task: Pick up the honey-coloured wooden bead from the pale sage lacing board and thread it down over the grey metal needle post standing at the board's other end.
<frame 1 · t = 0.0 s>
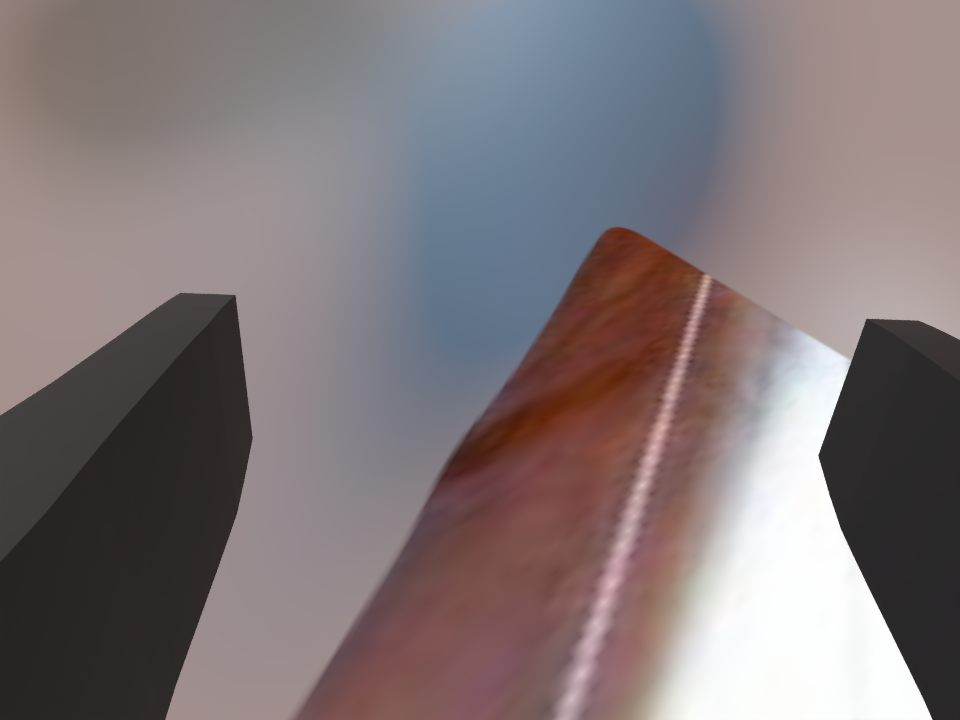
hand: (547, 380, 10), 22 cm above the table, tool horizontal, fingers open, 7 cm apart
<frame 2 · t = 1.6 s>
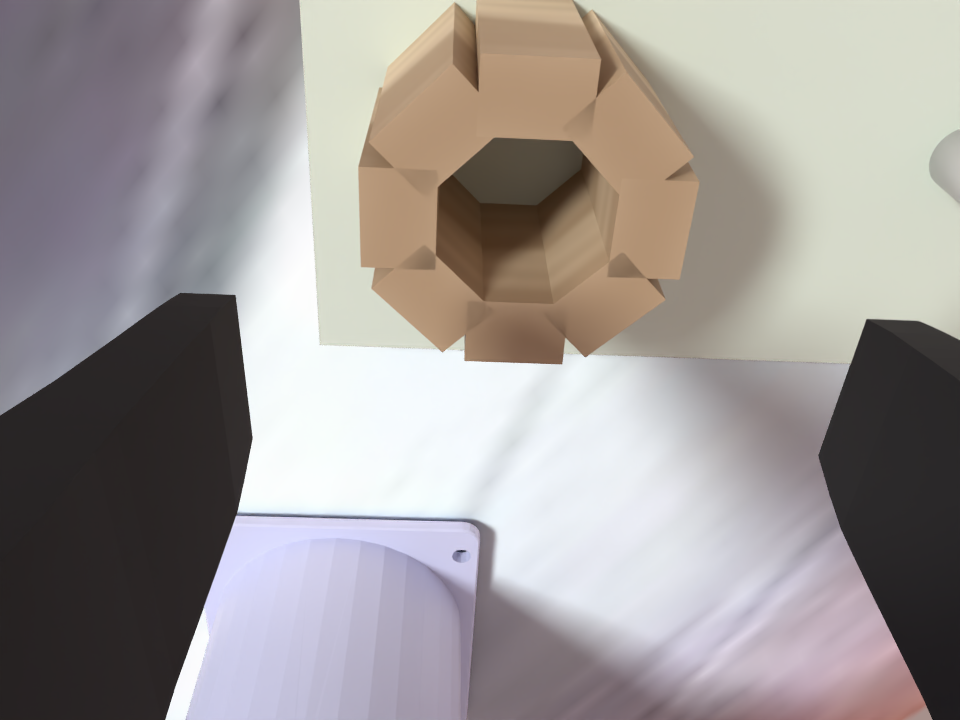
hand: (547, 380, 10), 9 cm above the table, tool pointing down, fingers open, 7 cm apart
bead: (513, 137, 17), point 1 cm above the table, touching lacing board
lacing board: (725, 127, 18), on the table
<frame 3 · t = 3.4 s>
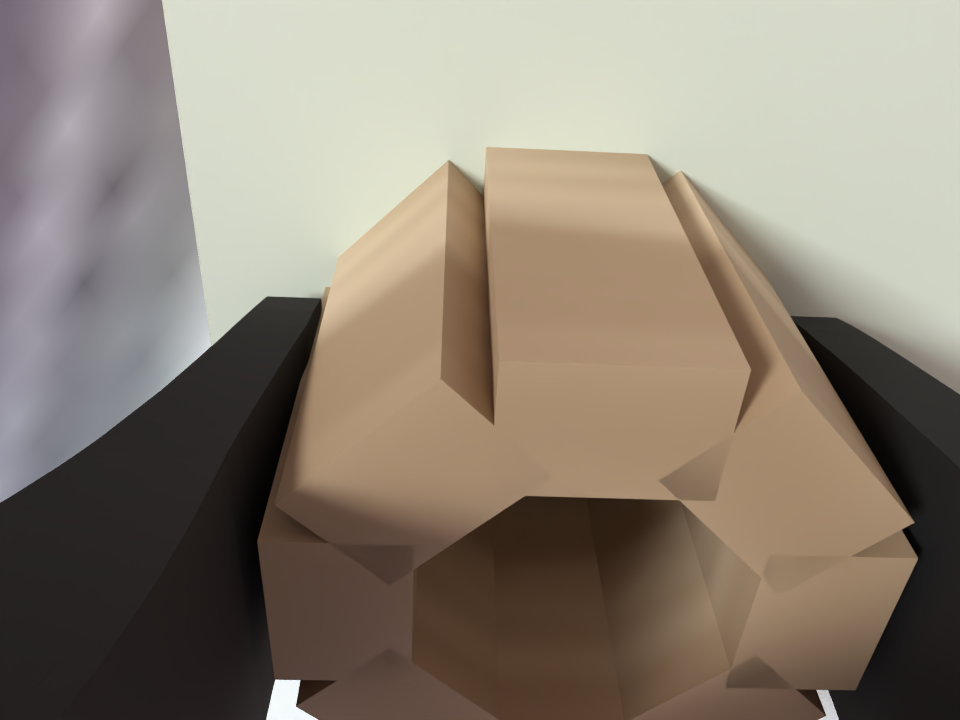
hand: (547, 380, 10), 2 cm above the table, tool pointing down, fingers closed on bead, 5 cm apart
bead: (543, 356, 11), point 1 cm above the table, touching gripper, lacing board
lacing board: (867, 318, 12), on the table
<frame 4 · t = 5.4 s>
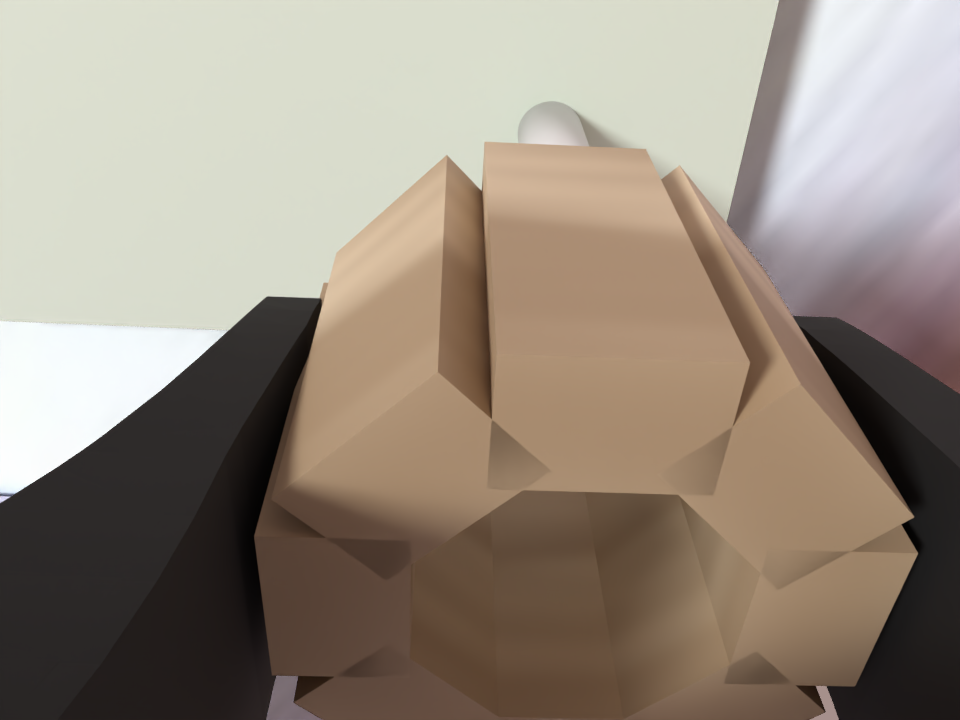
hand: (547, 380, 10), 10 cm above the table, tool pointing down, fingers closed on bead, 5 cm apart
bead: (542, 352, 11), point 9 cm above the table, touching gripper
lacing board: (332, 102, 18), on the table
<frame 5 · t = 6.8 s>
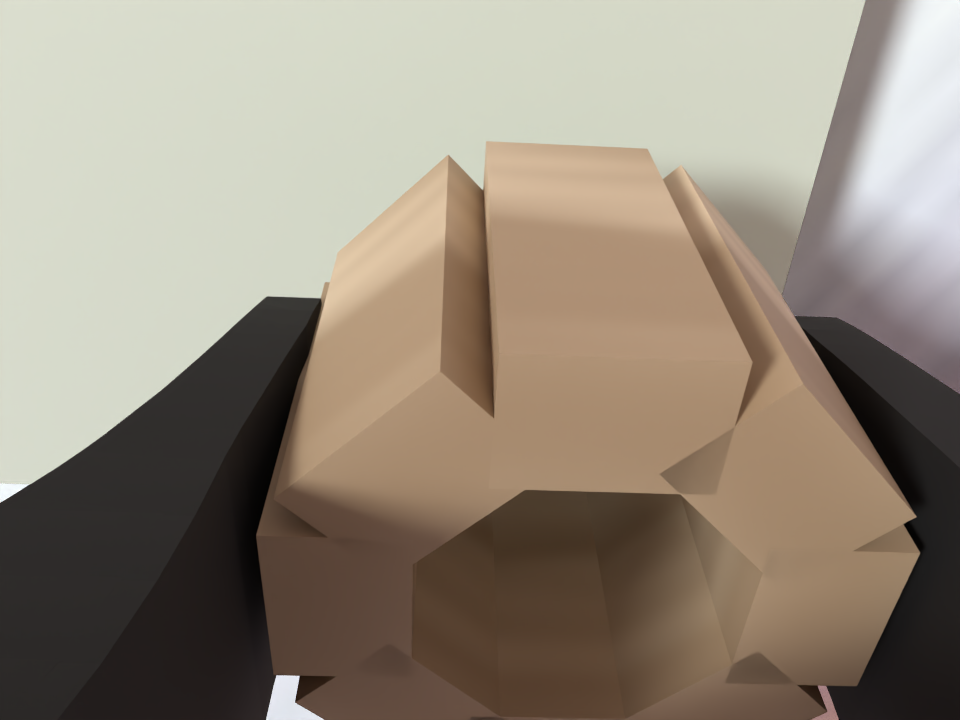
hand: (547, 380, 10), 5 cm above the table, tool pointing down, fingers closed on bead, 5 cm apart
bead: (543, 351, 11), point 4 cm above the table, touching gripper
lacing board: (240, 203, 14), on the table
when the fingers open (5 cm above the table, at t = 7.7 s): bead drops 3 cm, resting on lacing board.
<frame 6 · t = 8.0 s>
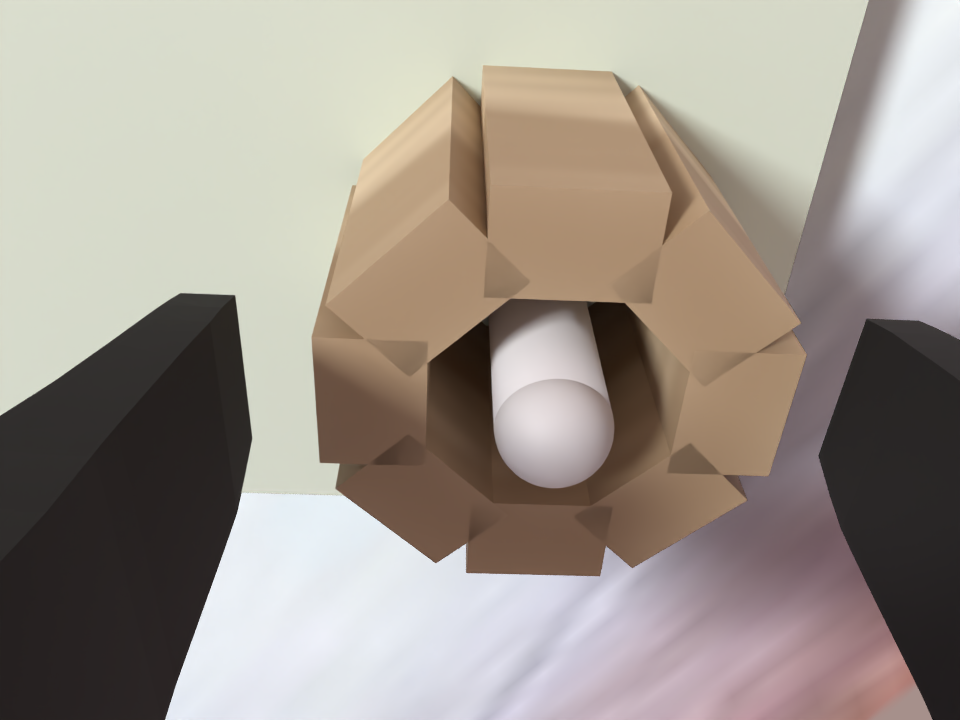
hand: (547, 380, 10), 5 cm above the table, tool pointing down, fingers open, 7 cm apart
bead: (530, 246, 13), point 1 cm above the table, touching lacing board
lacing board: (240, 205, 14), on the table
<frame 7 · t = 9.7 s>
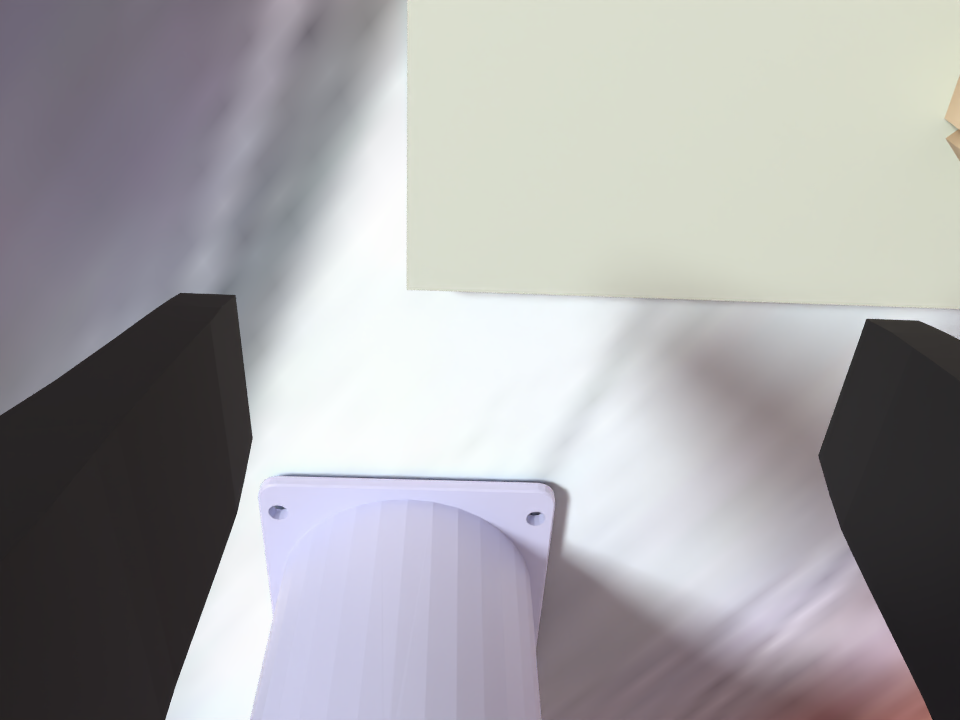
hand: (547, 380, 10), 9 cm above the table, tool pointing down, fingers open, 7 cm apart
lacing board: (836, 56, 17), on the table
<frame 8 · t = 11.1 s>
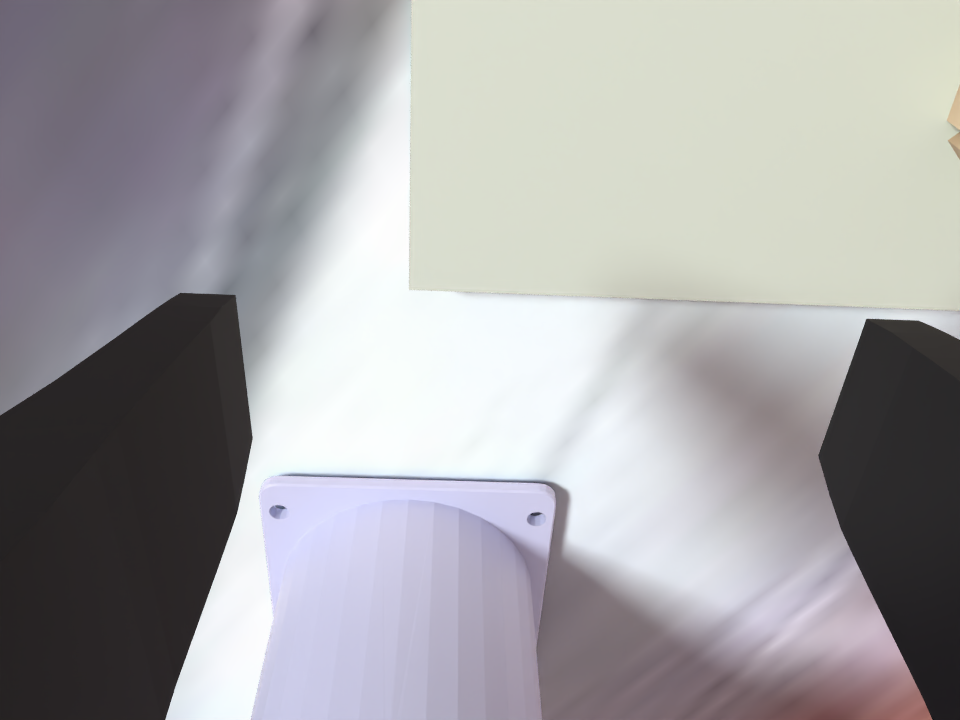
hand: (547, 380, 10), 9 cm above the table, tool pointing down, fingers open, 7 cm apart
lacing board: (839, 58, 17), on the table
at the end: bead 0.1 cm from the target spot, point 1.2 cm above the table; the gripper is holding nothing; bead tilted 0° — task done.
